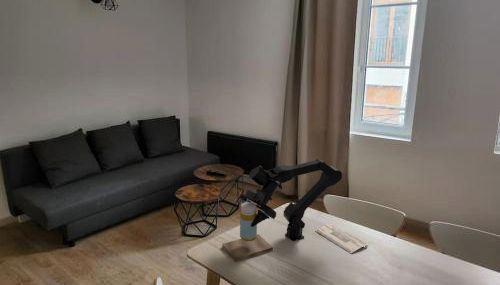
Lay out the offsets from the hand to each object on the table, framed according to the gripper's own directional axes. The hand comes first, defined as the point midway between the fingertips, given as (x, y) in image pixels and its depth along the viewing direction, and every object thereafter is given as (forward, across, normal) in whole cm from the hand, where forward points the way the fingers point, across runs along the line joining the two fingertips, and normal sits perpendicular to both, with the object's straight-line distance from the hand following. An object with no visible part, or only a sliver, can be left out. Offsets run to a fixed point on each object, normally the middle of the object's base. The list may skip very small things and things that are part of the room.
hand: (246, 223), depth 143 cm
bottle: (+4, 0, +6) cm, 8 cm away
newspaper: (-19, +19, +39) cm, 47 cm away
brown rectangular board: (+8, 0, +10) cm, 13 cm away
